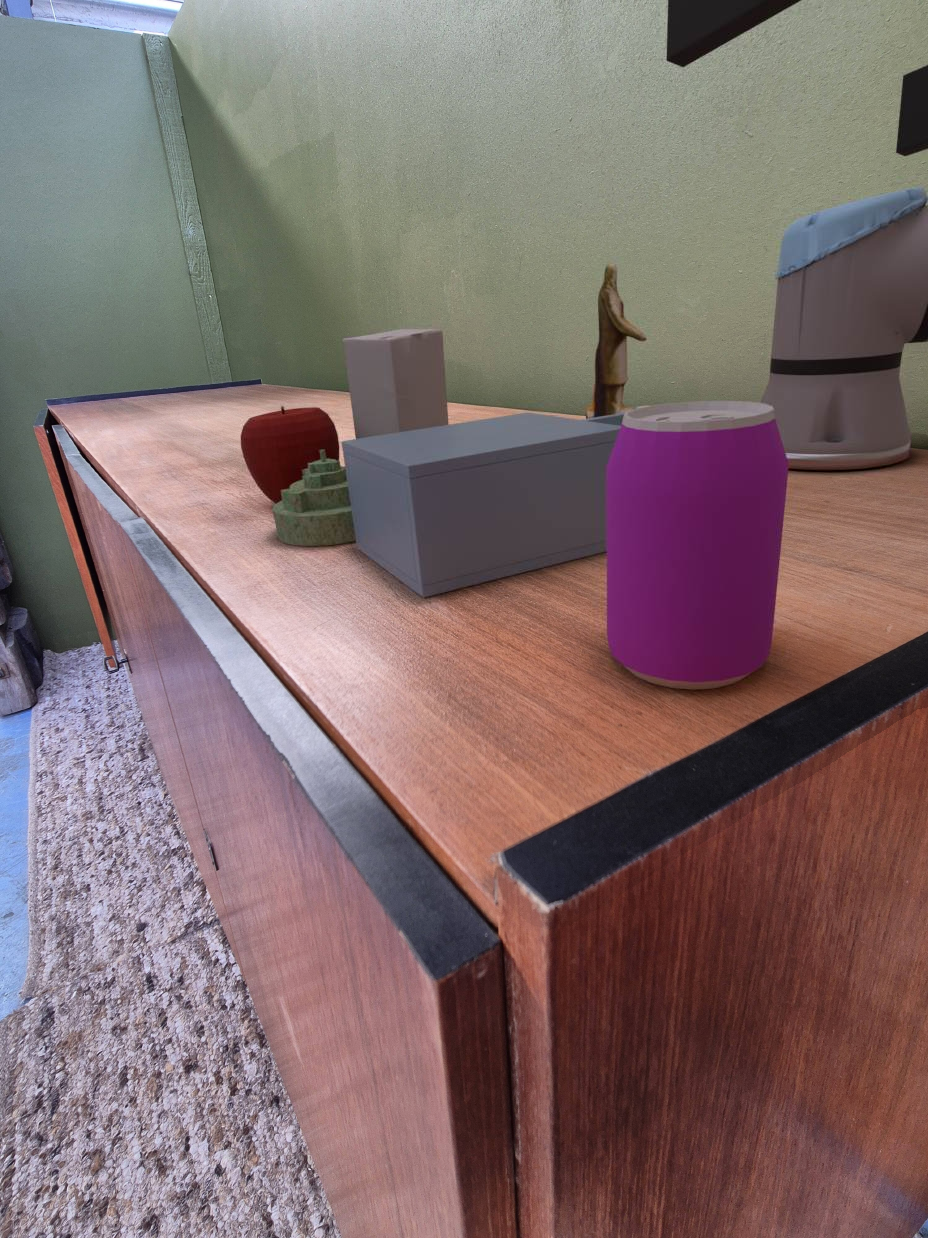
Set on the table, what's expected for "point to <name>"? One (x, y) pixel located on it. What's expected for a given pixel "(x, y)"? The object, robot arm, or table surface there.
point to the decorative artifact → (316, 507)
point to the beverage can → (694, 541)
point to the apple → (286, 446)
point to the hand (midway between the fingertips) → (805, 72)
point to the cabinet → (480, 498)
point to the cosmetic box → (396, 381)
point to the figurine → (611, 350)
